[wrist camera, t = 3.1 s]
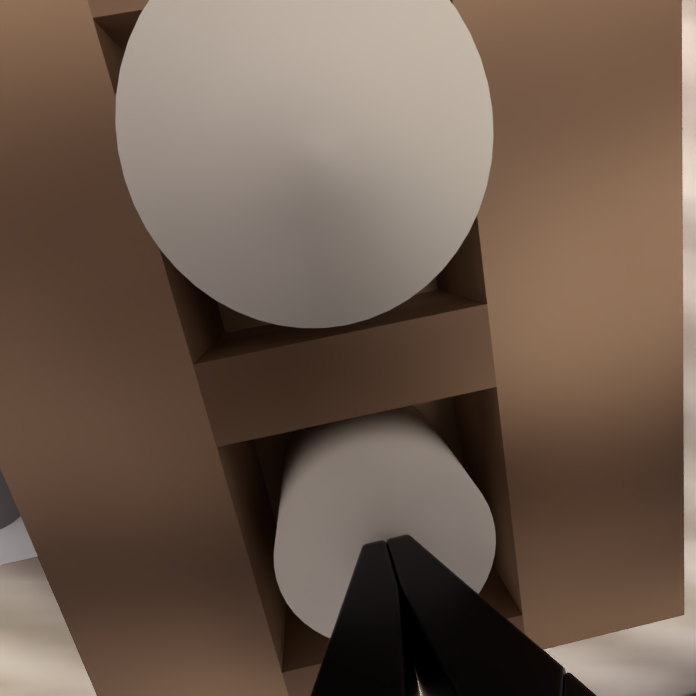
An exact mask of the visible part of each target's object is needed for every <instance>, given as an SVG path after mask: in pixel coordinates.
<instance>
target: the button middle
mask: <svg viewBox="0 0 696 696" xmlns="http://www.w3.org/2000/svg"><path fill="white" fill-rule="evenodd" d="M115 126H116V135H117V145H118V153H119V157H120V162H121V166H122V170H123V175H124V179H125V182H126V184H127V187H128V190H129V193H130V195H131V198H132V201H133V204H134V206H135V208H136V210H137V212H138V214H139V216H140V218H141V220H142V222H143V223H144V225H145V227H146V229H147V231H148V232H149V234H150V235H151V236H152V238H153V239H154V241H155V242H156V244H157V245H158V247H159V248H160V250H161V251H162V252H163V253H164V255H165V256H166V257H167V258H168V259H169V260H170V262H171V263H172V264H173V265H174V266H175V267H176V269H177V270H179V271H180V272H181V273H182V274H183V275H184V276H185V277H186V278H187V279H188V280H189V281H191V282H192V283H193V284H194V285H195V286H196V287H198V288H199V289H200V290H202V291H203V292H205V293H206V294H207V295H209V296H210V297H212V298H213V299H214V300H216V301H218V302H220V303H222V304H224V305H225V306H227V307H229V308H231V309H233V310H235V311H237V312H239V313H242V314H244V315H247V316H249V317H252V318H254V319H257V320H260V321H264V322H268V323H272V324H276V325H280V326H289V327H297V328H329V327H336V326H343V325H349V324H353V323H356V322H360V321H363V320H367V319H370V318H372V317H375V316H377V315H380V314H382V313H384V312H387V311H389V310H391V309H393V308H394V307H396V306H398V305H400V304H401V303H403V302H405V301H406V300H408V299H410V298H411V297H412V296H414V295H415V294H416V293H417V292H419V291H420V290H421V289H423V288H424V287H425V286H427V285H428V284H429V283H430V282H431V281H432V280H433V279H434V278H435V277H436V276H437V275H438V274H439V273H440V272H441V271H442V270H443V269H444V267H445V266H446V265H447V264H448V262H449V261H450V260H451V259H452V257H453V256H454V255H455V254H456V252H457V251H458V249H459V248H460V246H461V244H462V243H463V241H464V239H465V238H466V236H467V235H468V233H469V231H470V229H471V227H472V225H473V222H474V220H475V218H476V216H477V214H478V211H479V209H480V206H481V203H482V200H483V197H484V194H485V190H486V187H487V183H488V178H489V172H490V167H491V162H492V150H493V112H492V105H491V98H490V92H489V86H488V82H487V78H486V75H485V71H484V68H483V64H482V60H481V57H480V55H479V53H478V50H477V48H476V46H475V43H474V41H473V38H472V36H471V34H470V32H469V30H468V28H467V27H466V25H465V23H464V21H463V20H462V18H461V16H460V14H459V13H458V11H457V9H456V8H455V7H454V5H453V4H452V3H451V1H450V0H149V1H148V3H147V4H146V6H145V8H144V9H143V11H142V12H141V14H140V16H139V18H138V20H137V22H136V25H135V27H134V29H133V31H132V33H131V36H130V38H129V40H128V43H127V46H126V50H125V53H124V57H123V60H122V64H121V67H120V73H119V79H118V86H117V92H116V116H115Z"/></svg>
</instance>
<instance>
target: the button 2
mask: <svg viewBox="0 0 696 696" xmlns="http://www.w3.org/2000/svg"><path fill="white" fill-rule="evenodd" d="M407 534H408V535H410V536H412V537H413V538H414V539H415V540H416V541H417V542H419V543H420V544H421V545H422V546H423V547H424V548H426V549H427V550H428V551H429V552H430V553H431V554H432V555H434V556H435V557H436V558H437V559H438V560H439V561H441V562H442V563H443V564H444V565H445V566H446V567H448V568H449V569H450V570H451V571H452V572H453V573H455V574H456V575H457V576H458V577H459V578H460V579H462V580H463V581H464V582H465V583H466V584H467V585H468V586H470V587H471V588H472V589H473V590H474V591H475V592H477V593H478V594H479V592H480V591H481V589H482V587H483V586H484V584H485V582H486V580H487V578H488V575H489V573H490V570H491V568H492V564H493V560H494V555H495V546H496V534H495V526H494V521H493V517H492V514H491V511H490V508H489V506H488V504H487V502H486V500H485V498H484V497H483V495H482V493H481V492H480V490H479V489H478V488H477V486H476V485H475V484H474V482H473V481H472V479H471V478H470V477H469V475H468V474H467V472H466V471H465V470H464V468H463V467H462V465H461V464H460V463H459V461H458V460H457V458H456V457H455V456H454V454H453V453H452V451H451V450H450V449H449V447H448V446H447V444H446V443H445V442H444V440H443V439H442V437H441V436H440V435H439V433H438V432H437V430H436V429H435V428H434V426H433V425H432V424H431V422H430V421H429V420H428V418H426V417H425V416H424V415H423V414H422V413H421V412H420V411H419V410H418V409H416V408H415V407H414V406H412V405H410V406H406V407H401V408H396V409H392V410H387V411H383V412H378V413H373V414H369V415H364V416H359V417H355V418H350V419H346V420H341V421H336V422H332V423H327V424H322V425H318V426H313V427H308V428H304V429H299V430H297V431H296V432H295V434H294V436H293V437H292V439H291V441H290V444H289V446H288V448H287V452H286V456H285V460H284V469H283V478H282V486H281V495H280V504H279V512H278V521H277V529H276V538H275V547H274V570H275V575H276V580H277V583H278V586H279V589H280V591H281V593H282V595H283V597H284V599H285V601H286V603H287V604H288V605H289V607H290V608H291V609H292V611H293V612H294V613H295V614H296V615H297V616H298V617H299V618H300V619H301V620H302V621H303V622H304V623H305V624H306V625H308V626H309V627H310V628H312V629H313V630H315V631H316V632H318V633H320V634H322V635H324V636H326V637H328V638H330V637H331V635H332V632H333V629H334V626H335V623H336V620H337V617H338V614H339V612H340V609H341V606H342V603H343V600H344V597H345V594H346V591H347V588H348V586H349V583H350V580H351V577H352V574H353V571H354V568H355V565H356V562H357V560H358V557H359V554H360V551H361V548H362V546H363V545H364V544H367V543H371V542H375V541H380V540H384V541H385V542H386V543H387V540H388V539H389V538H393V537H397V536H401V535H407Z"/></svg>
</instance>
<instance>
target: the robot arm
mask: <svg viewBox="0 0 696 696" xmlns="http://www.w3.org/2000/svg"><path fill="white" fill-rule="evenodd" d="M416 674H417V676H416ZM417 678H418V681H417ZM418 682H419V685H420V689H421V692H422V695H423V696H596V695H595V694H594V693H593V692H592V691H590V690H589V689H588V688H587V687H586V686H585V685H584V684H582V683H581V682H580V681H579V680H578V679H577V678H576V677H574V676H573V675H572V674H571V673H566V672H565V669H564V668H563V667H562V666H561V665H560V664H559V663H558V662H557V661H556V660H554V659H553V658H552V657H551V656H550V655H549V654H547V653H546V652H545V651H544V650H543V649H542V648H540V647H539V646H538V645H537V644H536V643H535V642H533V641H532V640H531V639H530V638H529V637H528V636H526V635H525V634H524V633H523V632H522V631H521V630H520V629H518V628H517V627H516V626H515V625H514V624H513V623H511V622H510V621H509V620H508V619H507V618H506V617H504V616H503V615H502V614H501V613H500V612H499V611H497V610H496V609H495V608H494V607H493V606H492V605H491V604H489V603H488V602H487V601H486V600H485V599H484V598H482V597H481V596H480V595H479V594H478V593H477V592H475V591H474V590H473V589H472V588H471V587H470V586H468V585H467V584H466V583H465V582H464V581H463V580H462V579H460V578H459V577H458V576H457V575H456V574H455V573H453V572H452V571H451V570H450V569H449V568H448V567H446V566H445V565H444V564H443V563H442V562H441V561H439V560H438V559H437V558H436V557H435V556H434V555H432V554H431V553H430V552H429V551H428V550H427V549H426V548H424V547H423V546H422V545H421V544H420V543H419V542H417V541H416V540H415V539H414V538H413V537H412V536H410V535H408V534H407V535H401V536H397V537H393V538H389V539H388V540H387V543H386V542H385V541H384V540H380V541H375V542H371V543H367V544H364V545H363V546H362V548H361V551H360V554H359V557H358V560H357V562H356V565H355V568H354V571H353V574H352V577H351V580H350V583H349V586H348V588H347V591H346V594H345V597H344V600H343V603H342V606H341V609H340V612H339V614H338V617H337V620H336V623H335V626H334V629H333V632H332V635H331V637H330V640H329V643H328V646H327V649H326V652H325V655H324V658H323V661H322V663H321V666H320V669H319V672H318V675H317V678H316V681H315V684H314V687H313V689H312V692H311V695H310V696H420V692H419V686H418Z"/></svg>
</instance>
